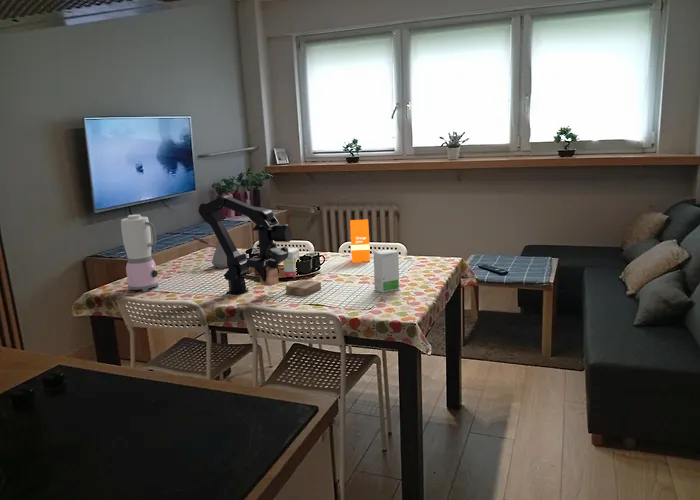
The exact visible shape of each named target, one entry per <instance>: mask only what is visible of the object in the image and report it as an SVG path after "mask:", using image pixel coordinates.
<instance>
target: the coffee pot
mask: <svg viewBox="0 0 700 500" xmlns="http://www.w3.org/2000/svg"><path fill="white" fill-rule="evenodd" d="M194 240H196V241H199V242H200V243H203V244H206V245H209V246H211V247H213V248H215V249H214V250H215V251H214V253H213V255H212V256H213V257H212V259H211V260H212V261H211V264H212V265H213V266H214V267H217V268H216V269H227V268H226V267H228V266H227V256H226V254H225V252H224V250H223V248H222V247H221V245H220V243H219V241H218V239H217V240H215V241H214V243H215V244H216V245H215V244H212V243H209V242H208V241H206V240H204V239H200V238H198V237H195V236H192V237H191V241H194Z"/></svg>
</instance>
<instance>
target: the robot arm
mask: <svg viewBox="0 0 700 500" xmlns="http://www.w3.org/2000/svg"><path fill="white" fill-rule="evenodd" d="M225 208H226V209H228V210H231V211H234V212H236V213H239V214H240V215H243V216H246V217H247V218H249V219H250V221H251V222H253V223H254V224H255V226H254V227H253V228H252V231H255V232H256V231H257V239H258V243H257V244H256V248H258V250H259V254H257V257H252V258H249V259H248V257H247V255H246V253H245V252H243V253H241V252H239V251H238V249H237V247H236V245H235V243H234V242H233V240H232V238H231V235H230V234H229V232H228V230H227V228H226V226H225V223H224V222H223V219H222V210H223V209H225ZM197 210H198V214H199V215H200V217H201V218H202V220H203V221H204V222H206V224H208V225H209V226H210V227H211V229H212V231H213V234H214V235H215V237H216V239H217V240H218V241H219V243H220V245H221V247H222V248H223V250H224V252H225V254H226V256H227V266H228V269H227V270H226V272H225V273H224V274H223V278H224V279H225V280H226V281H228V291H226V294H230V293H231V295H241V294H243V293H246V292H248V291H249V289H248V288H247V285H246V284H247V283H246V280H245V276H247V274H248V271H249V270H250V268H254V269H255V271H257V273H258V275H259V277H260V276H261V278H262V280H263V281H264V282H266V268H267V267H271V268H277V269H278V268H279V265H280V264H281V262H284V261H283V260H285V259H286V258H288V248H289V247H287V246H282V247H280V248H278V246H277V243H290V242H291V241H292V237H293V231H292V230H291V228H290V227H289V224H288V223H287V224H281V223H280V222H279V221H278V219H277V218H276V216H275V215H274V213H273V211H272V209H270V208H266V207H261V206H253V205H251V204H248V203H246V202H243V201H241V200H238V199H237V198H234V197H232V196H230V195H228V194H225V195H221V196H220V195H219V196H218V197H216V198H215V199H213V200H211V201H207V202H203V203H200V205H199V207H198V209H197ZM275 242H276V243H275ZM266 262H267V264H268V265H267V264H266Z"/></svg>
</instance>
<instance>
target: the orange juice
mask: <svg viewBox="0 0 700 500" xmlns="http://www.w3.org/2000/svg"><path fill="white" fill-rule="evenodd" d="M349 220H350V219H349ZM369 229H370V228H369V219H351V220H350V250H351V262H352V263H363V262H362V261H370V262H371V253H370V249H371V247H370V231H369Z"/></svg>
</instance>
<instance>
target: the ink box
mask: <svg viewBox="0 0 700 500" xmlns="http://www.w3.org/2000/svg"><path fill="white" fill-rule="evenodd" d="M287 248H288V258H286V259H285V260H283V261H282V262H283V273H284V277H285V276H286V277H293V278H292V279H295V278H296V277H297V276H296V274H297V272H296V271H297V270H296V269H297V268H296V262H297V260H298V259H299V260H300V249H299V248H297V247H287ZM295 276H296V277H295Z"/></svg>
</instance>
